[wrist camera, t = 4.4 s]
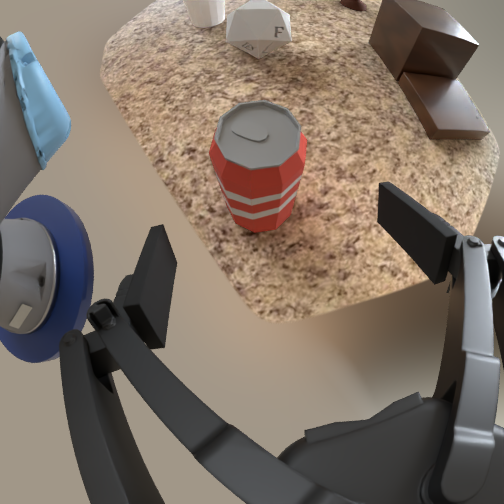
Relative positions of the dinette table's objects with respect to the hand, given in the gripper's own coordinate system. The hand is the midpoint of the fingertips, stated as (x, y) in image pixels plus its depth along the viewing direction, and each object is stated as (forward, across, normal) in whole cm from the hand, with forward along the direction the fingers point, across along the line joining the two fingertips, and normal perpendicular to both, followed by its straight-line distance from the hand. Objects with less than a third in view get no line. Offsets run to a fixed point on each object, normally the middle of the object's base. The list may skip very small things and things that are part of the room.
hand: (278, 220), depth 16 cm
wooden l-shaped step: (+22, +29, +7) cm, 37 cm away
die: (+28, +5, +13) cm, 32 cm away
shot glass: (+36, -1, +22) cm, 42 cm away
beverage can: (+11, 0, -4) cm, 12 cm away
